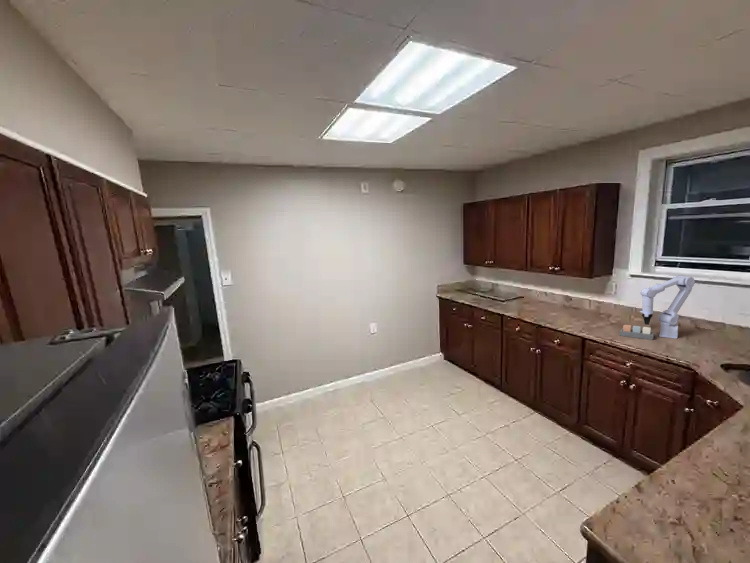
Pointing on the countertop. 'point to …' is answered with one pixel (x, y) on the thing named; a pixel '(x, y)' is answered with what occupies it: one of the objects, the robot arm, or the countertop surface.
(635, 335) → the grey slotted frame
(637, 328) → the key slate
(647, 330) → the key ivory
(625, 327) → the key terracotta
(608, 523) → the countertop surface
